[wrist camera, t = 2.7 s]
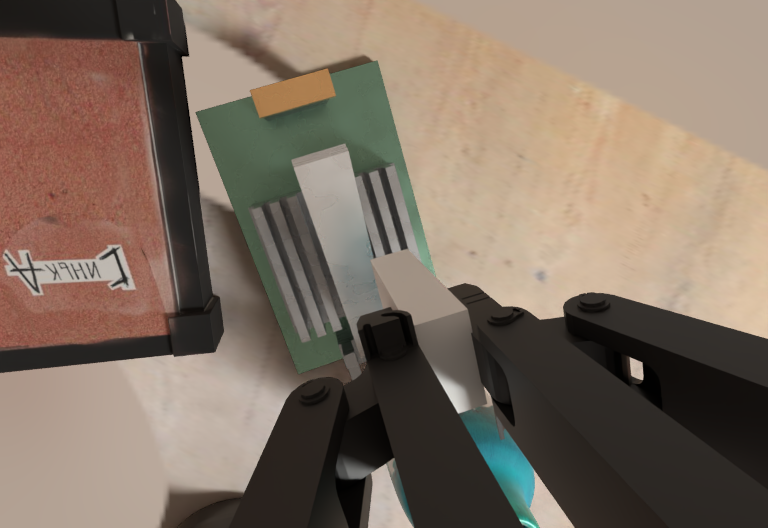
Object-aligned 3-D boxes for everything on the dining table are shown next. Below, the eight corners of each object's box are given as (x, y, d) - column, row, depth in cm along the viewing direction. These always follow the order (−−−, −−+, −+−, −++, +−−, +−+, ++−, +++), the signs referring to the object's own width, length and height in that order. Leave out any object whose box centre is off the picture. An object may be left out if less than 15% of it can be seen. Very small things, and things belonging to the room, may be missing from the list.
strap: (358, 350, 38) (360, 357, 37) (291, 159, 23) (293, 167, 23) (391, 338, 38) (393, 346, 38) (344, 143, 24) (348, 151, 23)
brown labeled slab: (-82, 4, 31) (-153, -24, 26) (183, 10, 34) (164, -14, 29) (8, 350, 37) (-35, 379, 32) (224, 329, 40) (214, 352, 35)
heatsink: (298, 369, 42) (298, 409, 35) (198, 113, 35) (174, 102, 28) (444, 317, 43) (471, 346, 37) (375, 62, 37) (392, 41, 30)
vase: (374, 342, 42) (431, 482, 24) (476, 345, 45) (599, 474, 26) (364, 439, 45) (409, 633, 26) (461, 437, 47) (566, 615, 29)
